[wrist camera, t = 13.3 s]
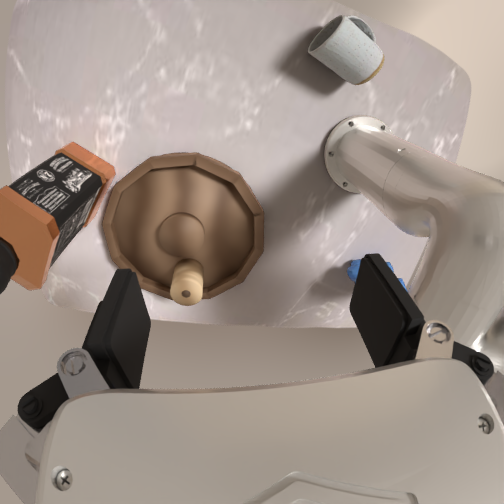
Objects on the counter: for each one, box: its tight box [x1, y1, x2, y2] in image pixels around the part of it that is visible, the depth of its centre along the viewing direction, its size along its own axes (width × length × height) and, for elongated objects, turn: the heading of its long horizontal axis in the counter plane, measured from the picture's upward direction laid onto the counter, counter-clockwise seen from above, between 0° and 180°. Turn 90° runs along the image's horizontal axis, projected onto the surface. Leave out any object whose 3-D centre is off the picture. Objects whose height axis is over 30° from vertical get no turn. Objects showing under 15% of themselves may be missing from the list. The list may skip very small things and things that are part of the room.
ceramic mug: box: [308, 15, 384, 85], centre depth 29 cm, size 11×8×8 cm
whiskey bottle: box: [0, 142, 116, 294], centre depth 26 cm, size 10×10×32 cm
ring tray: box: [102, 152, 264, 300], centre depth 45 cm, size 25×25×2 cm
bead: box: [170, 258, 204, 306], centre depth 46 cm, size 5×5×6 cm
